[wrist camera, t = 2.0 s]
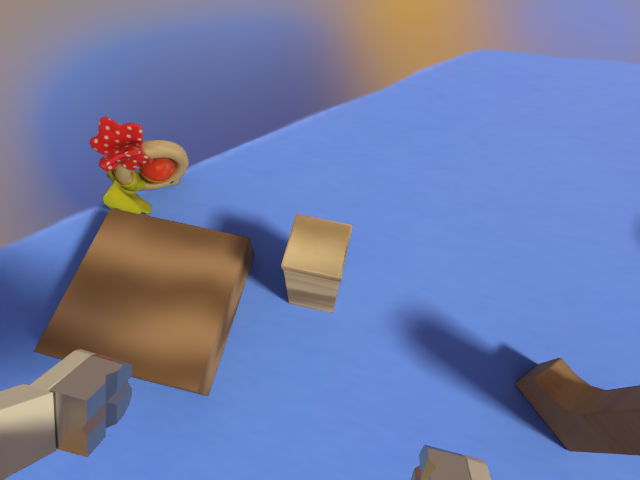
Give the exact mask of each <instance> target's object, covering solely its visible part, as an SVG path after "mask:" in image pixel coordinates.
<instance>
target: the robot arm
mask: <svg viewBox="0 0 640 480" xmlns="http://www.w3.org/2000/svg"><path fill="white" fill-rule="evenodd" d="M131 376H132V365H130V364H129V363H126V362H123V361H120V360H117V359H113V358H110V357H107V356H103V355H100V354H95V353H92V352H89V351H86V350H83V349H79V350H75V351H73V352H72V353H71V354H69V355H68V356H67V357H65V358H64V359H63V360H61V361H60V362H59V363H57V364H56V365H55V366H54V367H52V368H51V369H50V370H48V371H47V372H46V373H44V374H43V375H42V376H40V377H39V378H38V379H36V380H35V381H34V382H33V383H31V384H30V385H26V384H22V385H18V386H15V387H12V388H9V389H5V390H2V391H0V480H3V479H5V478H7V477H9V476H11V475H12V474H14V473H16V472H18V471H20V470H22V469H23V468H25V467H27V466H29V465H31V464H33V463H35V462H36V461H38V460H40V459H42V458H44V457H46V456H47V455H49V454H51V453H53V452H55V451H56V449H59V450H62V451H66V452H70V453H74V454H77V455H81V456H85V457H88V456H89V455H90V454H91V453H92V452H93V450H94V449H95V448H96V447H97V446H98V445H99V444H100V442H101V441H102V440H103V439H104V438H105V435H106V428H108V427H110V426H112V425H115V424H117V423H118V421H119V420H120V419H121V418H122V417H123V415H124V414H125V412H126V410H127V408H128V406H129V404H130V400H131V396H132V388H131V386H130V385H129V383H128V382H127V381H128V380H129V378H130V377H131ZM419 459H420V466H418V467H416V468H415V469H414V472H413V475H412V478H411V480H491V478H490V474H489V471H488V467H487V464H486V463H485V461H484V460H481V459H478V458H474V457H470V456H466V455H462V454H458V453H454V452H450V451H447V450H443V449H439V448H435V447H431V446H428V445H424V446H423V448H422V450H421V452H420V455H419Z"/></svg>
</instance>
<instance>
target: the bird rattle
mask: <svg viewBox="0 0 640 480" xmlns="http://www.w3.org/2000/svg"><path fill="white" fill-rule="evenodd" d="M142 132H143V130H142V126H140V125H138V124H135V123H128V124H124V125H121V124H118V123H116V122H115V121H113V120H111V119H110V118H108V117H102V118H101V119H100V121H99V135H98V136H96V137H94V138H92V139H91V140H90V145H91V147H92V148H94V149H95V150H96V151H97V152H99V153H101V154H103V155H107V156H105V157H102V158H101V159H100V162H99V166H100V167H101V168H102V169H104V170H105V171H108V173H107V176H108V177H109V178H111V180H112V182H114V183H113V184H112V185H111V187H110V188H109V189H108V191H107V192H106V193H105V195H104V196H103V201H104V204H105V205H107V206H108V207H110V208H113V209H119V210H123V211H127V212H132V213H136V214H140V213H144V214H150V213H151V205H150V204H149V203H148V202H146V201H145V200H144V199H142V198H141V197H139V196H138V195H137V194H136V192H135V191H139V190H152V189H158V188H162V187H166V186H170V185H177V184H179V182H180V178H181V177H182V176H183V175H184V174H185V172H186V170H187V168H188V163H189V161H188V157H187V154H186V152H185V150H184V149H183V148H182V147H181V146H179V145H178V144H176V143H173V142H170V141H164V140H152V141H145V142H143V134H142ZM138 168H139V171H140V173H141V174H140V173H138V172H136V171H134V170H135V169H138Z"/></svg>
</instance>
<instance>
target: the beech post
mask: <svg viewBox="0 0 640 480" xmlns="http://www.w3.org/2000/svg"><path fill="white" fill-rule="evenodd" d="M351 230H352V225H348V224H343V223H339V222H334V221H329V220H324V219H319V218H315V217H310V216H305V215H300V214H296V216H295V220H294V223H293V226H292V230H291V233H290V237H289V240H288V244H287V247H286V250H285V254H284V257H283V261H282V264H281V267H282V269H283V270H284V275H285V281H286V287H287V293H288V300H289V304H294V305H298V306H303V307H307V308H311V309H316V310H320V311H325V312H329V313H333V311H334V306H335V302H336V297H337V292H338V288H339V283H340V281H341V276H342V272H343V267H344V262H345V258H346V253H347V248H348V244H349V239H350V234H351Z"/></svg>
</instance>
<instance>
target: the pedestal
mask: <svg viewBox="0 0 640 480" xmlns="http://www.w3.org/2000/svg"><path fill="white" fill-rule="evenodd" d="M253 258H254V252H253V249H252V245H251V242H250V239H249V238H248V237H243V236H239V235H234V234H229V233H225V232H220V231H215V230H211V229H206V228H202V227H197V226H192V225H188V224H183V223H178V222H174V221H169V220H164V219H160V218H155V217H150V216H146V215H141V214H136V213H132V212H127V211H123V210H118V209H113V208H110V210H109V212H108V214H107V216H106V218H105V220H104V221H103V223H102V225H101V227H100V229H99V231H98V233H97V234H96V236H95V238H94V240H93V242H92V244H91V246H90V248H89V249H88V251H87V253H86V255H85V257H84V259H83V261H82V262H81V264H80V266H79V268H78V270H77V272H76V274H75V276H74V277H73V279H72V281H71V283H70V285H69V287H68V289H67V290H66V292H65V294H64V296H63V298H62V300H61V302H60V304H59V305H58V307H57V309H56V311H55V313H54V315H53V317H52V318H51V320H50V322H49V324H48V326H47V328H46V330H45V332H44V333H43V335H42V337H41V339H40V341H39V343H38V345H37V347H36V348H35V350H34V352H38V353H41V354H44V355H48V356H51V357H54V358H58V359H61V360H63V359H64V358H65V357H67V356H68V355H69V354H71V353H72V352H73V351H75V350H79V349H83V350H86V351H89V352H92V353H95V354H100V355H103V356H107V357H110V358H113V359H117V360H120V361H123V362H126V363H129V364H130V365H132V376H131V377H133V378H137V379H141V380H145V381H149V382H153V383H157V384H161V385H165V386H169V387H173V388H177V389H182V390H186V391H190V392H194V393H198V394H202V395H206V396H208V395H209V392H210V389H211V386H212V383H213V380H214V377H215V374H216V371H217V368H218V365H219V362H220V359H221V356H222V353H223V349H224V346H225V343H226V340H227V337H228V334H229V331H230V328H231V325H232V322H233V319H234V316H235V313H236V310H237V307H238V304H239V301H240V298H241V295H242V291H243V288H244V285H245V282H246V279H247V276H248V273H249V270H250V267H251V264H252V261H253Z"/></svg>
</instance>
